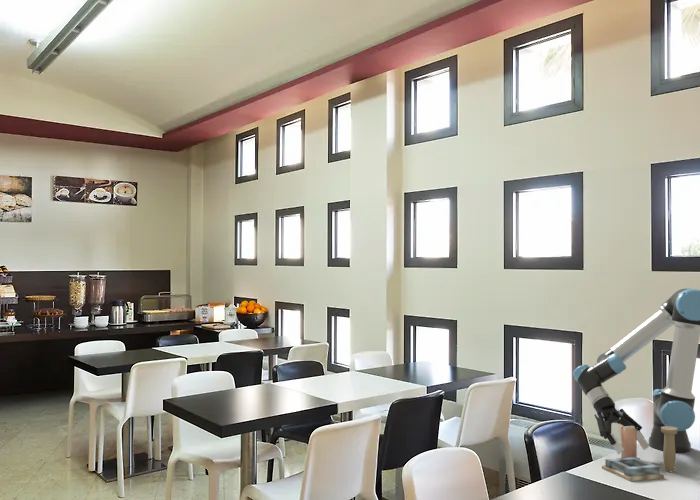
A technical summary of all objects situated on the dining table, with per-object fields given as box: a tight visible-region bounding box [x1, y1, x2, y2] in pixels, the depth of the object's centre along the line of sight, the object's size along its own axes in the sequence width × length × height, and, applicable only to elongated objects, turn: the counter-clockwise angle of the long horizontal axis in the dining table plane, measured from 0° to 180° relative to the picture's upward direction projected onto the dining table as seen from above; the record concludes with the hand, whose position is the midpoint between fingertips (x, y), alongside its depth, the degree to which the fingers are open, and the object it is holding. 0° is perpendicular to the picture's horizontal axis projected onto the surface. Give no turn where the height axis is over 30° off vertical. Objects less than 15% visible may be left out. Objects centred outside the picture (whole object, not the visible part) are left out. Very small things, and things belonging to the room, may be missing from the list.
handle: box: [661, 426, 678, 473], centre depth 216 cm, size 5×6×15 cm
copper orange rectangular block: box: [620, 425, 638, 458], centre depth 227 cm, size 5×5×13 cm
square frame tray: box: [601, 456, 665, 482], centre depth 213 cm, size 14×14×4 cm
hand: (634, 449), depth 225 cm, fingers open, 13 cm apart
